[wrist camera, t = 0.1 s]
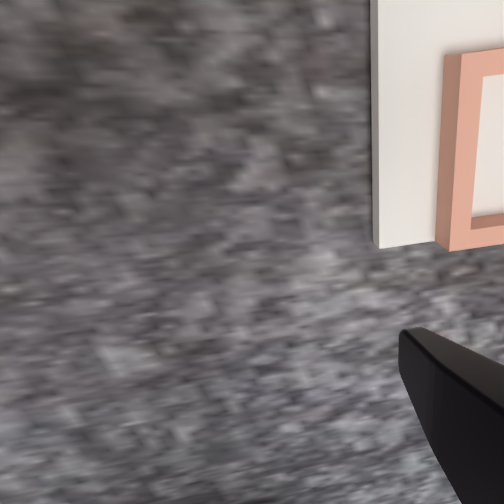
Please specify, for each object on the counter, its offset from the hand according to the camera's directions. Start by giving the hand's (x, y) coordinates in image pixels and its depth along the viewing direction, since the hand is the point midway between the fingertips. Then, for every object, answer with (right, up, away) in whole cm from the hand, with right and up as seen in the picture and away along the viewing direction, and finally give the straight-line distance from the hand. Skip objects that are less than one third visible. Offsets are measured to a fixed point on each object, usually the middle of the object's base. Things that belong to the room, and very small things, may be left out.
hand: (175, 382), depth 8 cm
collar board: (+13, +9, +13) cm, 21 cm away
